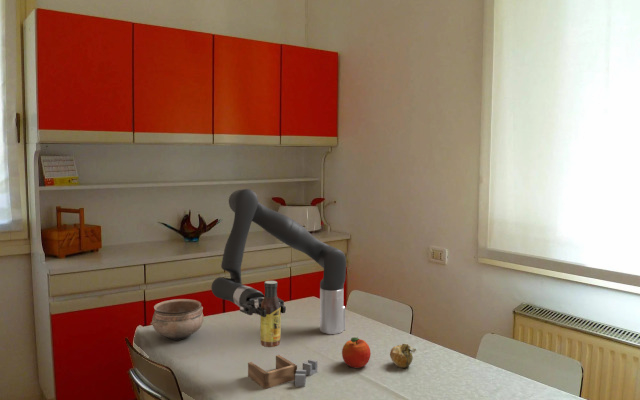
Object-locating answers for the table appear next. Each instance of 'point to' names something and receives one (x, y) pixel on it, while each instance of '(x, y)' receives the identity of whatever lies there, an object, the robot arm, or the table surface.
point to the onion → (402, 355)
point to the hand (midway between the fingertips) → (274, 311)
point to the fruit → (356, 353)
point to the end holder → (273, 373)
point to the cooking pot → (177, 318)
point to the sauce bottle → (270, 316)
